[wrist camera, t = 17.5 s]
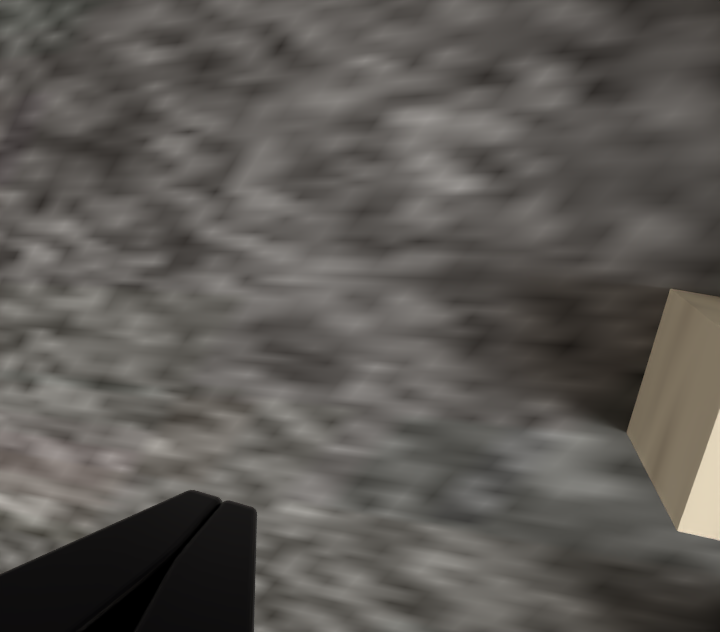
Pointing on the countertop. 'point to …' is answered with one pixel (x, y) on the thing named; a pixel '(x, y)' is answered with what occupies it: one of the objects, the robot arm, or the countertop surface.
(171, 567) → the robot arm
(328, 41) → the countertop surface
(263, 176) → the countertop surface
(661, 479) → the block
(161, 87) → the countertop surface
